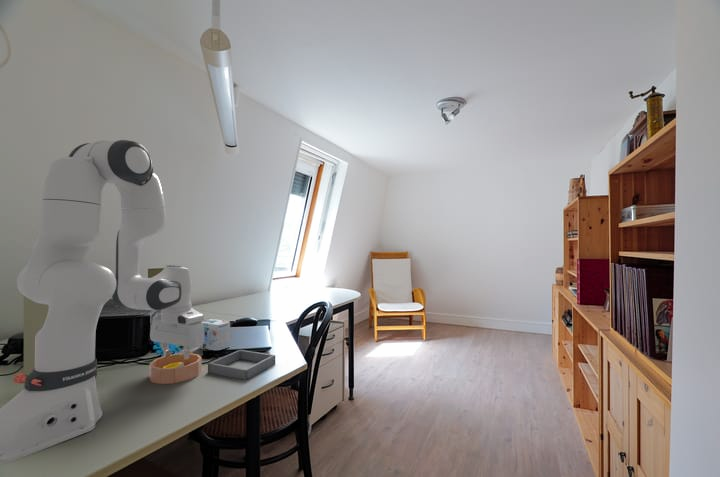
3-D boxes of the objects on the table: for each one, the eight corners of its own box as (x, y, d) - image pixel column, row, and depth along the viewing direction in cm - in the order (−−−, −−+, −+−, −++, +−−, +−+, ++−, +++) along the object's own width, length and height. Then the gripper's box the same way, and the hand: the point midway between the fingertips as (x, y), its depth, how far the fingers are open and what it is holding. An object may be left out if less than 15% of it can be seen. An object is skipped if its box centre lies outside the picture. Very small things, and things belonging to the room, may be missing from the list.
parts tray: (246, 379, 110) (246, 370, 110) (207, 372, 116) (207, 363, 116) (275, 363, 125) (275, 355, 125) (239, 357, 131) (240, 349, 131)
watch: (173, 360, 119) (187, 359, 117) (173, 368, 118) (188, 368, 117) (158, 366, 113) (174, 365, 111) (159, 375, 113) (175, 374, 111)
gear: (157, 357, 125) (151, 334, 130) (150, 367, 127) (145, 343, 132) (187, 354, 134) (181, 332, 139) (180, 363, 136) (175, 341, 141)
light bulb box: (198, 348, 141) (198, 321, 141) (211, 344, 147) (211, 318, 147) (217, 352, 136) (217, 324, 136) (230, 347, 142) (230, 321, 142)
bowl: (173, 386, 105) (173, 371, 105) (139, 379, 110) (139, 364, 110) (210, 369, 118) (210, 356, 118) (178, 363, 124) (178, 351, 124)
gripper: (145, 314, 115) (144, 356, 115) (192, 319, 108) (191, 364, 108) (162, 310, 121) (161, 350, 121) (208, 315, 113) (207, 358, 113)
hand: (176, 357), depth 114 cm, fingers open, 7 cm apart
